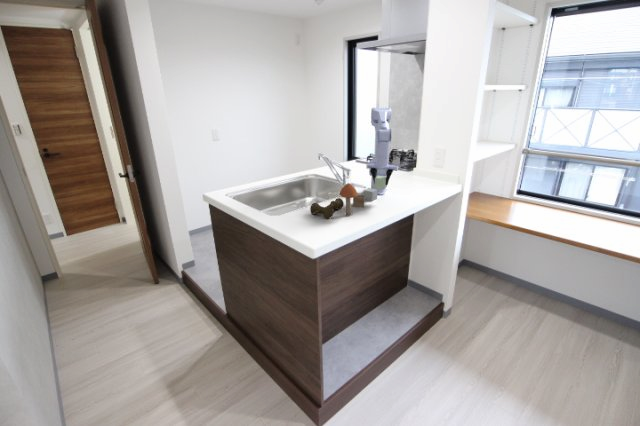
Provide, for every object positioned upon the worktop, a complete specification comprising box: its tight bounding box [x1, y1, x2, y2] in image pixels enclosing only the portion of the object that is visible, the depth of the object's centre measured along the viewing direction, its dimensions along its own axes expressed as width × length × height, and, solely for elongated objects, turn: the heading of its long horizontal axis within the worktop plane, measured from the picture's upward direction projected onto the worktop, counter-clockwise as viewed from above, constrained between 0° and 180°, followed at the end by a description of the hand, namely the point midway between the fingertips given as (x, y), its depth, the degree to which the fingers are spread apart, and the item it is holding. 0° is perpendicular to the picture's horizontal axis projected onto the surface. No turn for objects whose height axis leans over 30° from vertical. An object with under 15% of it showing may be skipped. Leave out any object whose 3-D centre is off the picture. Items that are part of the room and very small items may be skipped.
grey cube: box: [363, 187, 378, 202], centre depth 162 cm, size 5×5×5 cm
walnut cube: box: [352, 193, 365, 208], centre depth 154 cm, size 5×5×5 cm
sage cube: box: [374, 176, 388, 190], centre depth 153 cm, size 5×5×5 cm
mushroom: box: [339, 183, 359, 217], centre depth 140 cm, size 8×8×15 cm
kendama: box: [309, 197, 345, 220], centre depth 145 cm, size 6×10×20 cm
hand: (380, 184), depth 153 cm, fingers closed on sage cube, 5 cm apart
